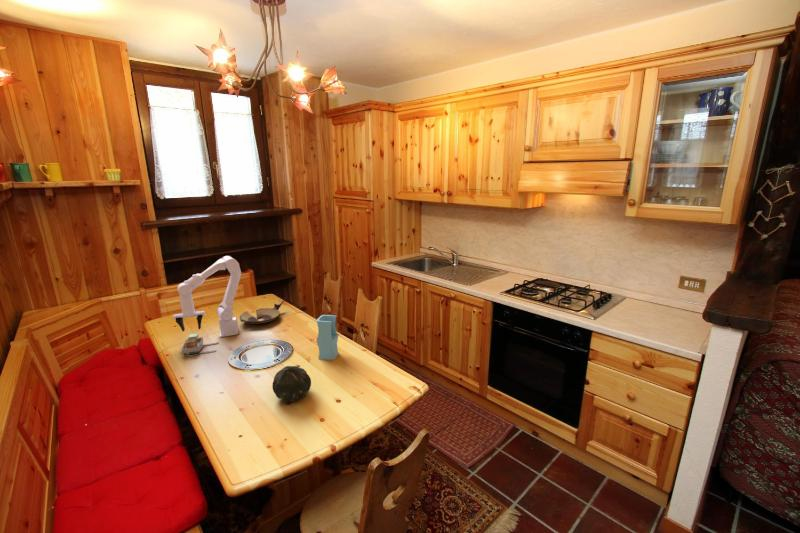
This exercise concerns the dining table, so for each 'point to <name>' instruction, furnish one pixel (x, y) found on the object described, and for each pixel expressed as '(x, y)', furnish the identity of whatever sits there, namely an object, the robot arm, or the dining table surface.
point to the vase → (327, 337)
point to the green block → (193, 336)
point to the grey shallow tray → (193, 349)
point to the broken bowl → (262, 314)
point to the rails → (201, 352)
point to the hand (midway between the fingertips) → (191, 329)
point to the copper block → (191, 343)
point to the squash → (291, 383)
